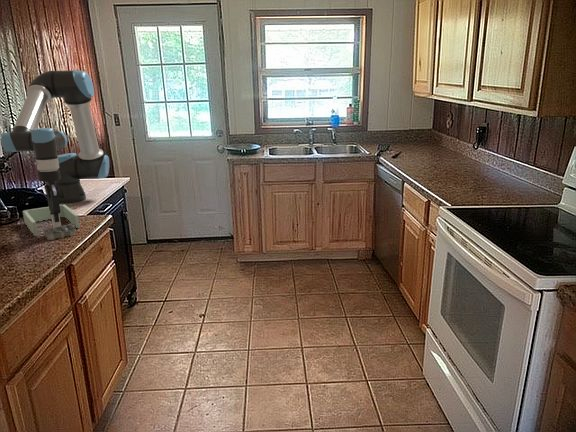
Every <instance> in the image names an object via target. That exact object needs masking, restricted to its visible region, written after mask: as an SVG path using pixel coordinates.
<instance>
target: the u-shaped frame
mask: <svg viewBox="0 0 576 432" xmlns="http://www.w3.org/2000/svg"><path fill="white" fill-rule="evenodd" d="M60 211H61V212H60V213H59V214H60V217H65V218H67V219H68V220H69V221H70V222H71V223H72V224H73V225H74V226H75V227H76V228H79V229H80V228H81V226H80V220H79V215H78V214H77V213H76V212H75V211H73V210H72V209H71V208H70V207H69V206H67V204H66V203H63V204H60ZM50 213H51V212H50V210H49V206H46V207H45V206H44V207H37V208H31V209H24V210H22V215H23V221H24V224H25V226H26V225H27V226H26V227H27V228H28V230H29V229H30V230H29V231H30V232H31V234H32V233H33V234H32V235H33V236H34V237H39V233H38V226H37V222H36V221H39V222H43V221H42V220H45V221H49V220H48V219H51V220H52V217H51V215H50ZM67 219H66V220H67ZM68 220H67V221H68ZM69 221H68V222H69ZM70 222H69V223H70ZM76 228H75V229H76Z"/></svg>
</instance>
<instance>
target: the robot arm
mask: <svg viewBox="0 0 576 432" xmlns="http://www.w3.org/2000/svg"><path fill="white" fill-rule="evenodd" d="M94 96H95V87H94V84H93V81H92V78H91V76H90V75H89V73H88V72H86V71H83V70H74V69H73V70H48V71H44V72H42V73H40V74H39V75H37V76H36V77H35V78H34V79H32V81H31V82H30V83H29V84H28V87H27V89H26V98H25V100H24V103H23V104H22V107H21V110H20V112H19V114H18V116H17V119H16V122H15V124H14V126H13V128H12V130H11V131H6V132H3V133H2V134H1V138H0V143H1V146H2V148H3V149H4V150H5V152H9V153H10V152H12V153H13V152H14V153H15V152H16V153H18V152H21V153H22V152H33V153H34V159H35V161H34V162H33V163H34V165H36V169H37V176H38V177H37V179H38V181H40V182H43V183H44V182H45V184H44V185H43V187H44V190H45V194H46V198H47V205H48V207H49V210H50V212H51V213H50V215H51V217H52V219H51V222H52V228H53V227H54V228H55V227H60V225H61V226H62V222H61V218H60V214H59V213H60V212H61V211H60V205H61V204H70V203H77V202H81V201H84V200H86V199H87V195H86V192H85V190H84V188H83V186H82V184H81V180H89V179H90V180H93V179H97V180H99V179H106V178H107V177H108V175H109V172H110V157H109V156H108V155H107V154H105V153H104V150H103V149H101V148H100V146H99V143H98V138H97V133H96V128H95V124H94V120H93V116H92V112H91V111H92V110H91V106H90V103H91V102H92V98H93V97H94ZM59 98H61V99H63V101H64V104H65V105H67V106H68V108H69V111H70V114H71V119H72V122H73V126H74V130H75V134H76V139H77V142H78V145H79V149H80V152H79V153H78V155H77V153H76V152H71V153H70V152H69V153H64V154H63V153H62V154H58V151H61V150H63V149H64V148H66V146H67V145H68V137H67V135H66V134H65V133H64V132H63V131H60V130H54V129H53V128H51V127H40V128H39V127H38V126H39V124H40V121H41V118H42V116H43V114H44V110H45V109H46V106H47V104H49V103H50V102H51V100H52V99H59Z"/></svg>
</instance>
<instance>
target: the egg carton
mask: <svg viewBox="0 0 576 432" xmlns="http://www.w3.org/2000/svg"><path fill="white" fill-rule="evenodd" d="M76 231H77V230H76V228H75V227H74V226H73V225H72V223H70V222H69V224H63V225H62V224H61V225H60V227H55V228H54V227H53V226H52V227H50V226H49V227H46V228H44V229H43V234H44V238H45V237H47V238H46V240H47V241H48V240H49V241H54V240H56V239H64V238H66V237H73V235H74V234H76V235H77V232H76ZM65 236H66V237H65ZM74 236H75V235H74Z"/></svg>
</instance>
